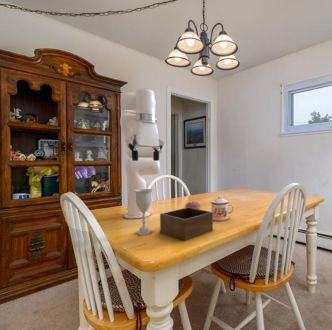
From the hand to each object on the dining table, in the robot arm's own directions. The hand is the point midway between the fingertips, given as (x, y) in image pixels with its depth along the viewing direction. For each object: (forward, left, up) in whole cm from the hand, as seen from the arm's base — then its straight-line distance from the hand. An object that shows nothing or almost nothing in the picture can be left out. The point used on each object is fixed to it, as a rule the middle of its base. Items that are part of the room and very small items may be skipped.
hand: (146, 160), depth 94 cm
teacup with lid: (+12, +36, -31) cm, 48 cm away
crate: (+13, +11, -30) cm, 35 cm away
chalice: (0, -1, -31) cm, 31 cm away
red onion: (-6, +32, -31) cm, 44 cm away
